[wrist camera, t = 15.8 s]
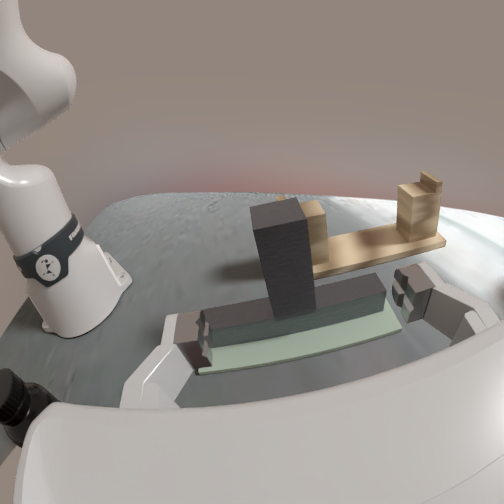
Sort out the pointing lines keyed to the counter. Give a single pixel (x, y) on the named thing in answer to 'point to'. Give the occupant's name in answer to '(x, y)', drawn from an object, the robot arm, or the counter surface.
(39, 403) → the supplement bottle
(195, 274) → the counter surface
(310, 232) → the stand
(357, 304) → the grey inverted t block
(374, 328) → the mat
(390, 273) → the counter surface
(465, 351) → the robot arm
